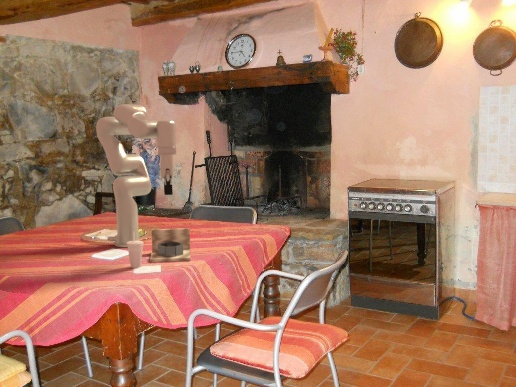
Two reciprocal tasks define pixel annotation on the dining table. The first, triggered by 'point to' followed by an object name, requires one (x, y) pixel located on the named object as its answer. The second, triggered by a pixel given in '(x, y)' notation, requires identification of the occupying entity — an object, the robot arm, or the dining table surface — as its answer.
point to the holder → (170, 245)
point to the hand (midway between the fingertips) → (168, 193)
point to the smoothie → (135, 252)
